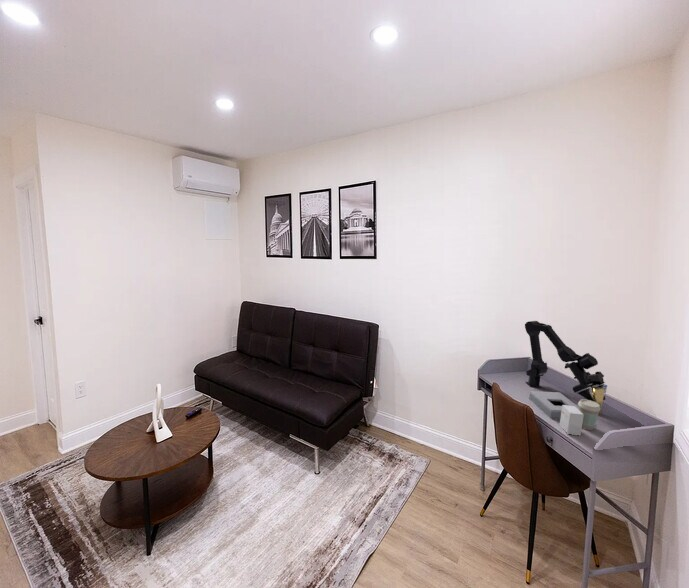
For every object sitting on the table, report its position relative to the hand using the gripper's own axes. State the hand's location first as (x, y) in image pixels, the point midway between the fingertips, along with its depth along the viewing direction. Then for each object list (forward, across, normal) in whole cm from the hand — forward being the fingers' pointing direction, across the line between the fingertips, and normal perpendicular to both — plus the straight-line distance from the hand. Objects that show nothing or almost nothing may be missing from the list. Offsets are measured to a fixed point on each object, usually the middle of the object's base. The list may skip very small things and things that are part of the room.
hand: (599, 401), depth 165 cm
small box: (+8, -30, +2) cm, 31 cm away
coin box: (-4, -16, +13) cm, 21 cm away
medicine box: (-3, +20, +13) cm, 24 cm away
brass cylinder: (+4, 0, +6) cm, 7 cm away
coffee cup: (+8, -19, +2) cm, 21 cm away
